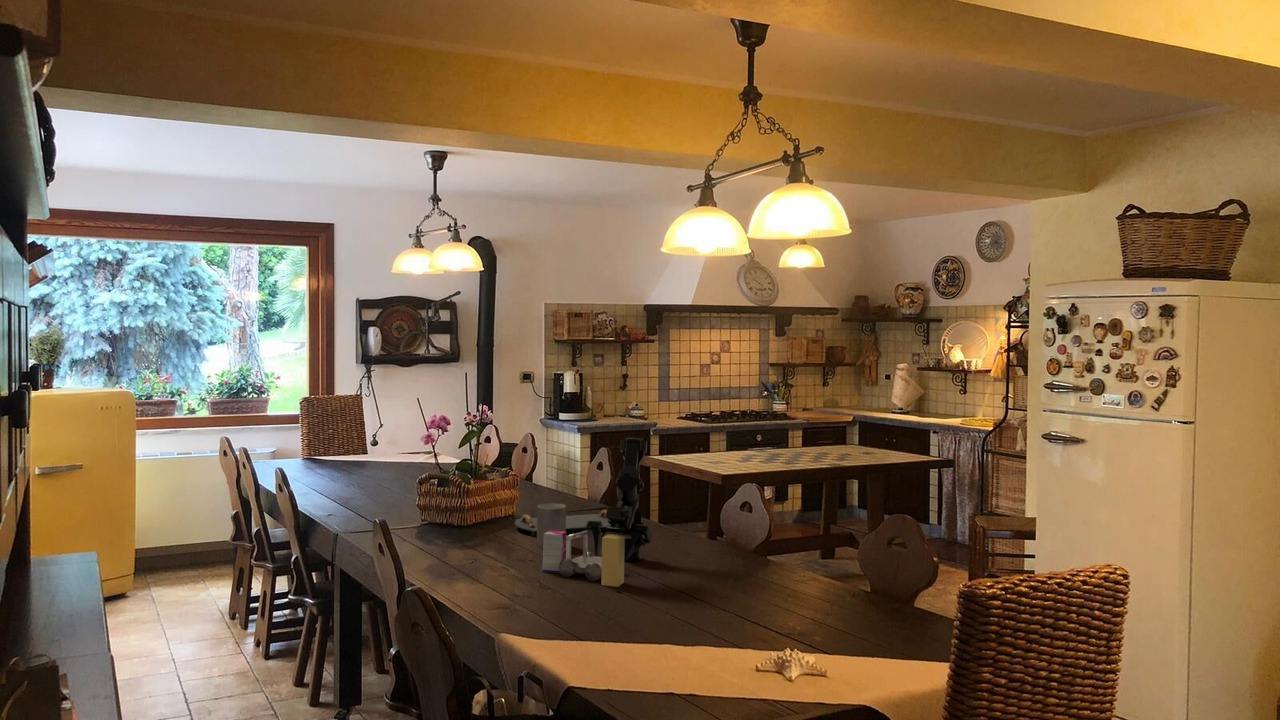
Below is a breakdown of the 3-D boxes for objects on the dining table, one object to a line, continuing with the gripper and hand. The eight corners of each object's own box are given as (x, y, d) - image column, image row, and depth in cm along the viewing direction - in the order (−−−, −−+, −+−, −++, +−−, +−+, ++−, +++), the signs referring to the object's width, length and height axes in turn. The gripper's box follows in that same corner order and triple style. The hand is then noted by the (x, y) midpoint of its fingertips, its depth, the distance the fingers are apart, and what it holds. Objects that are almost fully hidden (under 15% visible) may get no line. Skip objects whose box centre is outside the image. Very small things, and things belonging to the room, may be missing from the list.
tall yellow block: (607, 580, 275) (608, 534, 275) (623, 582, 274) (624, 535, 274) (601, 585, 271) (602, 537, 270) (617, 586, 269) (618, 539, 269)
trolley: (583, 566, 292) (583, 528, 292) (622, 573, 285) (623, 533, 285) (558, 575, 280) (559, 536, 280) (599, 582, 274) (599, 541, 273)
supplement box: (561, 573, 284) (561, 534, 284) (541, 571, 285) (542, 533, 285) (566, 568, 290) (567, 530, 289) (547, 567, 291) (548, 529, 290)
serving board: (525, 539, 334) (525, 521, 333) (508, 527, 355) (508, 510, 355) (628, 532, 349) (628, 515, 349) (605, 520, 370) (605, 504, 370)
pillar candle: (540, 542, 326) (540, 498, 326) (568, 543, 325) (568, 499, 325) (534, 549, 316) (534, 504, 316) (563, 550, 315) (563, 504, 315)
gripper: (588, 492, 278) (572, 537, 268) (649, 497, 272) (635, 543, 262) (598, 515, 286) (583, 559, 276) (657, 520, 280) (644, 565, 270)
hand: (611, 556), depth 271 cm, fingers open, 9 cm apart
